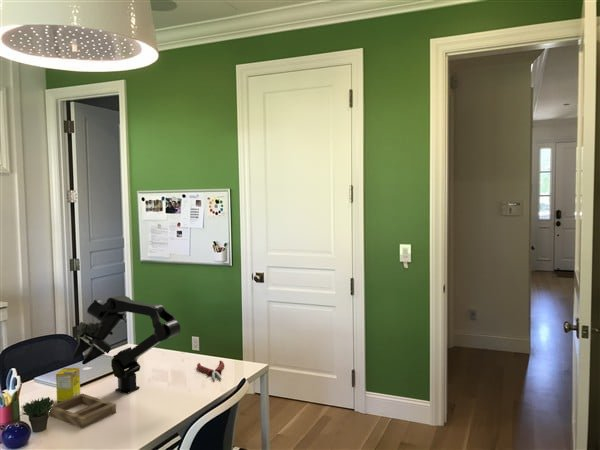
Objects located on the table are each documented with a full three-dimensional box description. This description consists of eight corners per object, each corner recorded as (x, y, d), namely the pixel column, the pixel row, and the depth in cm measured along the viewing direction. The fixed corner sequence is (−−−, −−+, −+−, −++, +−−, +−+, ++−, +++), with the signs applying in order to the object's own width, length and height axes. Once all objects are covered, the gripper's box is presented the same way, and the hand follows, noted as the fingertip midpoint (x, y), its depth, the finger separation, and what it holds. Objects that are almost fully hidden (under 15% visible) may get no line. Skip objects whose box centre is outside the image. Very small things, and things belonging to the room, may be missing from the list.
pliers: (203, 384, 190) (203, 378, 190) (196, 368, 209) (196, 362, 209) (232, 381, 194) (232, 374, 194) (222, 365, 213) (222, 359, 212)
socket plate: (116, 412, 164) (115, 404, 164) (82, 428, 153) (81, 419, 153) (82, 401, 173) (82, 393, 173) (47, 415, 162) (47, 406, 162)
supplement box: (80, 396, 178) (79, 367, 177) (73, 403, 172) (72, 373, 171) (64, 396, 178) (63, 367, 177) (56, 403, 172) (55, 373, 171)
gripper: (81, 309, 186) (52, 343, 179) (101, 317, 173) (70, 355, 165) (102, 325, 192) (74, 359, 185) (123, 334, 179) (94, 371, 171)
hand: (78, 360), depth 176 cm, fingers open, 9 cm apart
